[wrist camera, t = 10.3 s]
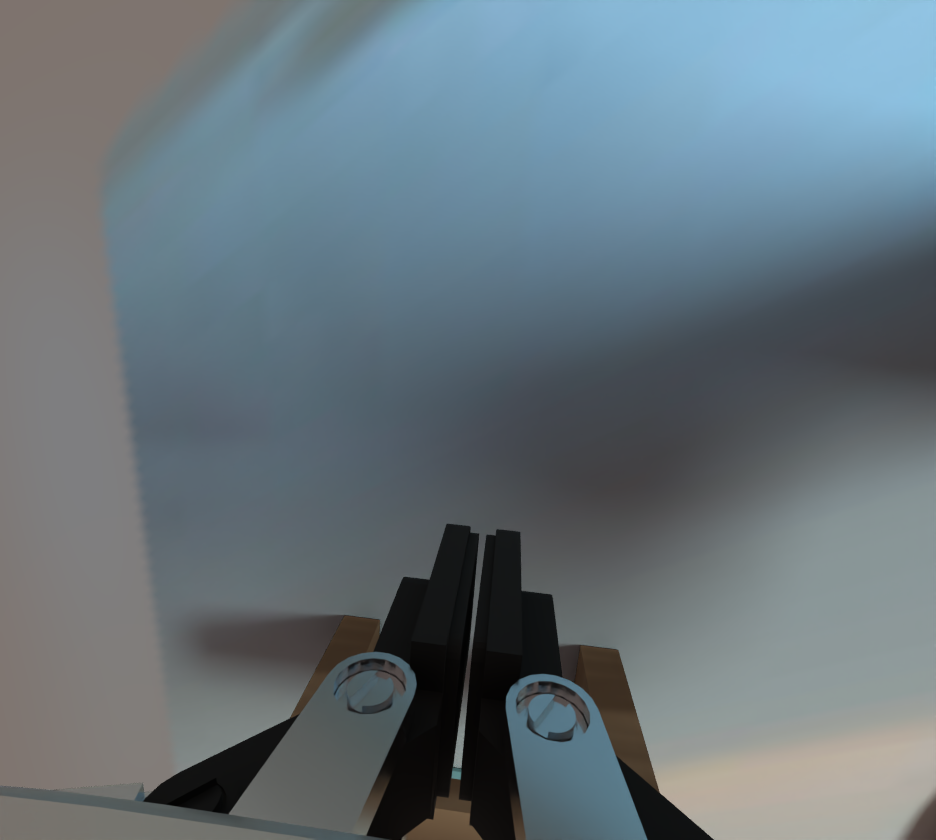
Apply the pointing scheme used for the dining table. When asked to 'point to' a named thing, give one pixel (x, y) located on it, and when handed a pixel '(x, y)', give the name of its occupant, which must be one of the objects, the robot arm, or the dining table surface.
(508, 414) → the dining table surface
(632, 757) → the bridge
